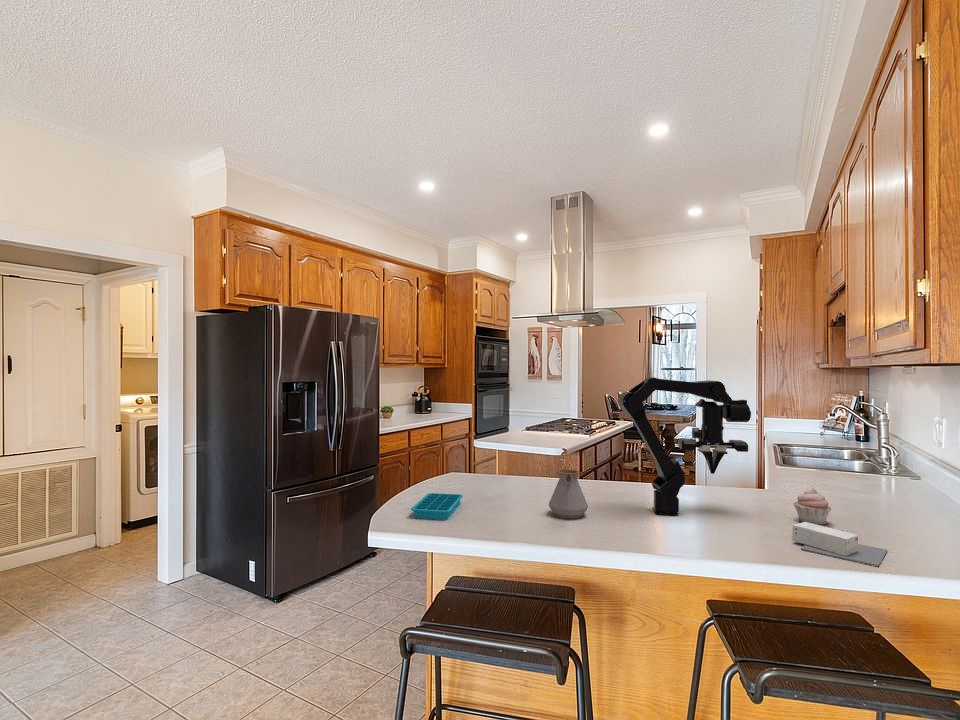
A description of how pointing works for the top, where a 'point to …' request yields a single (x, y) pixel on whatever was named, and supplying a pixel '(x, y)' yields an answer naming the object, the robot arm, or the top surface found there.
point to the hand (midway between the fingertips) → (712, 473)
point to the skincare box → (825, 538)
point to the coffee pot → (568, 496)
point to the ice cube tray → (437, 506)
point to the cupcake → (812, 507)
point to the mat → (855, 554)
